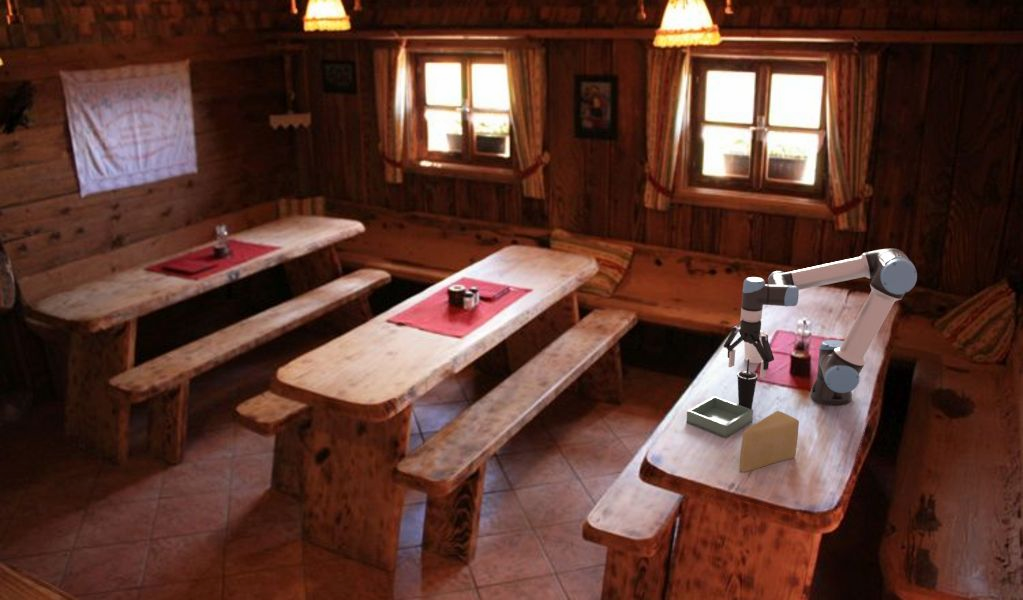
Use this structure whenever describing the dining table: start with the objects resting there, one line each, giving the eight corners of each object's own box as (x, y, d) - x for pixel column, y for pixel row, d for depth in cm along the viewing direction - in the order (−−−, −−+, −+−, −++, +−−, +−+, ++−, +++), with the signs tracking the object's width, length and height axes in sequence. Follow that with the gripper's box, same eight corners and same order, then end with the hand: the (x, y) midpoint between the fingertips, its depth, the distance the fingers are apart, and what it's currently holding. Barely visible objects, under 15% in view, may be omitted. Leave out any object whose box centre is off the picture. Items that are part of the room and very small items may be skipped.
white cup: (761, 366, 373) (763, 339, 369) (739, 361, 378) (741, 335, 374) (768, 358, 380) (770, 332, 376) (747, 353, 385) (749, 328, 381)
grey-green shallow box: (752, 422, 326) (752, 410, 325) (725, 438, 316) (726, 425, 314) (713, 407, 338) (714, 395, 336) (686, 422, 327) (687, 410, 326)
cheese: (751, 478, 290) (754, 438, 285) (729, 466, 298) (732, 426, 293) (797, 458, 301) (800, 419, 296) (774, 447, 309) (777, 408, 304)
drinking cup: (739, 401, 343) (742, 353, 336) (758, 405, 339) (761, 358, 332) (731, 408, 337) (734, 360, 330) (751, 413, 333) (754, 365, 326)
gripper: (786, 324, 319) (781, 378, 326) (728, 308, 336) (724, 359, 344) (775, 330, 314) (770, 384, 322) (716, 313, 332) (713, 364, 339)
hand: (746, 371), depth 333 cm, fingers open, 13 cm apart
